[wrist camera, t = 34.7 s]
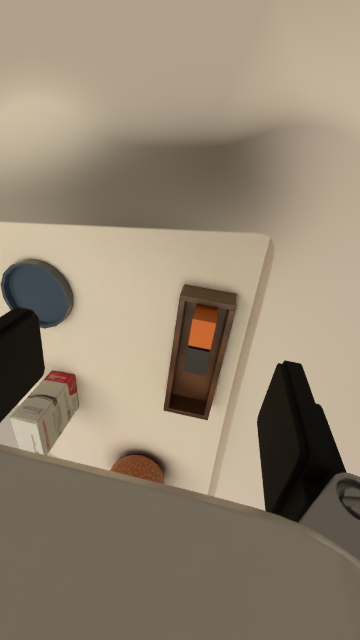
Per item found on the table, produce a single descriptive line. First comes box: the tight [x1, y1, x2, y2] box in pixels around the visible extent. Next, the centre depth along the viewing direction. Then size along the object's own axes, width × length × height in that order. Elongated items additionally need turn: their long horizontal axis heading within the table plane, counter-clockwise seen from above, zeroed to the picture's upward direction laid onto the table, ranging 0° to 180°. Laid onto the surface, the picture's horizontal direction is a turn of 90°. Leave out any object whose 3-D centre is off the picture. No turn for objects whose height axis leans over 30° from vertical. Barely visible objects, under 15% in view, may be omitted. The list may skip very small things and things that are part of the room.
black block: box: [184, 345, 210, 376], centre depth 42 cm, size 3×4×7 cm
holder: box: [164, 285, 236, 420], centre depth 45 cm, size 22×8×4 cm, turn 173°
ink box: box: [10, 371, 79, 455], centre depth 51 cm, size 8×5×12 cm, turn 176°
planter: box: [110, 455, 164, 484], centre depth 59 cm, size 12×12×11 cm
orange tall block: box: [188, 304, 218, 349], centre depth 39 cm, size 3×4×7 cm
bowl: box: [1, 260, 73, 328], centre depth 46 cm, size 11×11×2 cm
